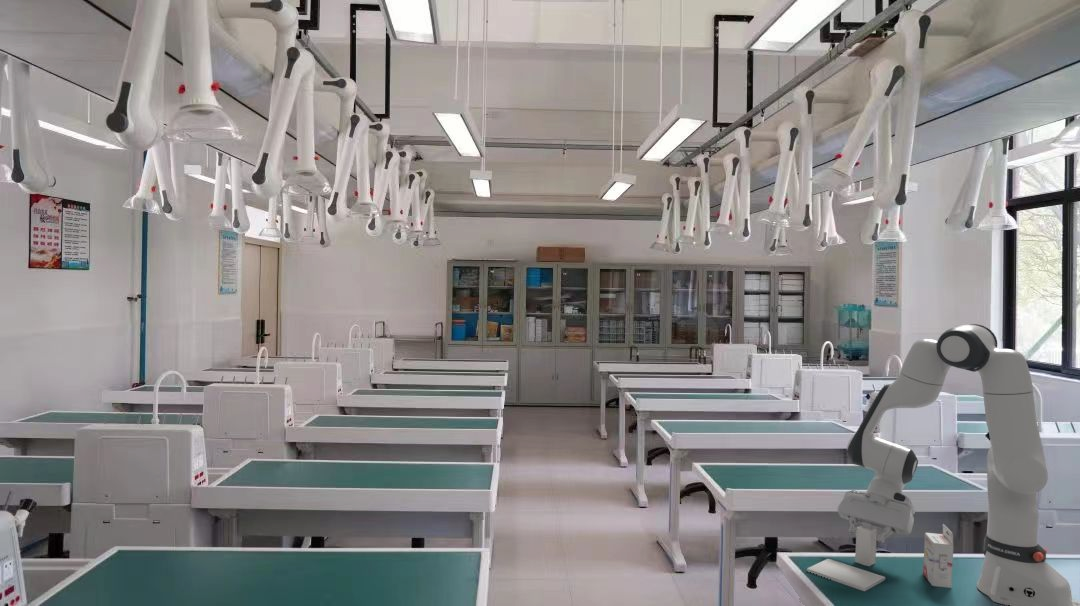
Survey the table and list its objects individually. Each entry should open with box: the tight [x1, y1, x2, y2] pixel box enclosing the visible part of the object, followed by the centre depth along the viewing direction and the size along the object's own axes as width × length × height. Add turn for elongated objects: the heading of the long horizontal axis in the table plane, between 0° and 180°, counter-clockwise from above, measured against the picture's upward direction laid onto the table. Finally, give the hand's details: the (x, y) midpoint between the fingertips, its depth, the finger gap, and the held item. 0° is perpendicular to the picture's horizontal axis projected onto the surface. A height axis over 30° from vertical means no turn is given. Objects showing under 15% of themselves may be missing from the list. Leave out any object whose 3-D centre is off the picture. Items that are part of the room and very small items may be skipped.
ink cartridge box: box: [922, 523, 954, 589], centre depth 196 cm, size 9×5×15 cm, turn 169°
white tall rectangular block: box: [854, 522, 878, 567], centre depth 208 cm, size 4×4×11 cm
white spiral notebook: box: [806, 558, 886, 592], centre depth 198 cm, size 16×12×1 cm
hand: (865, 537), depth 207 cm, fingers open, 7 cm apart
